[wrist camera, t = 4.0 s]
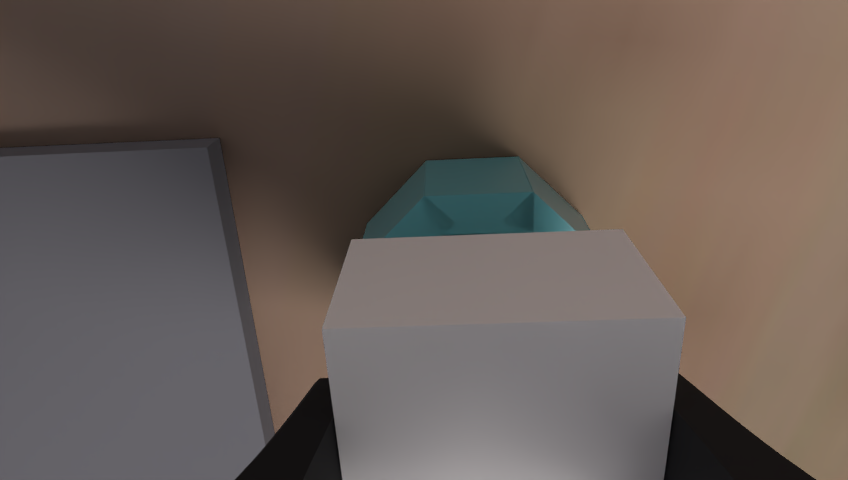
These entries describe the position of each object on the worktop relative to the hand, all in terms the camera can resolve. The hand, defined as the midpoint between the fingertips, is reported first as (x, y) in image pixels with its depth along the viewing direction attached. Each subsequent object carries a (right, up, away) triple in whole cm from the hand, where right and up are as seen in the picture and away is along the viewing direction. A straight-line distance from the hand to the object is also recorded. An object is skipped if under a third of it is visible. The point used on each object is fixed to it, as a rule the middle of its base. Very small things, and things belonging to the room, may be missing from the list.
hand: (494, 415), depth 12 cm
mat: (-13, 0, +8) cm, 15 cm away
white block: (0, +1, +2) cm, 2 cm away
